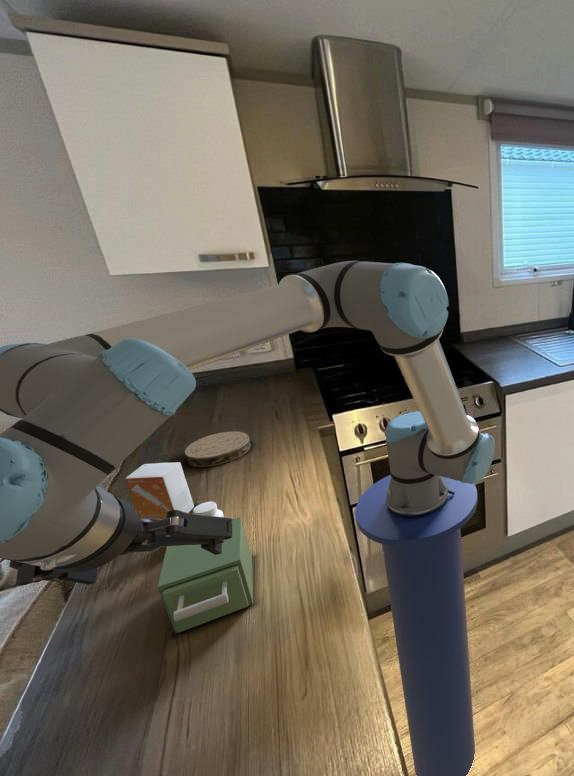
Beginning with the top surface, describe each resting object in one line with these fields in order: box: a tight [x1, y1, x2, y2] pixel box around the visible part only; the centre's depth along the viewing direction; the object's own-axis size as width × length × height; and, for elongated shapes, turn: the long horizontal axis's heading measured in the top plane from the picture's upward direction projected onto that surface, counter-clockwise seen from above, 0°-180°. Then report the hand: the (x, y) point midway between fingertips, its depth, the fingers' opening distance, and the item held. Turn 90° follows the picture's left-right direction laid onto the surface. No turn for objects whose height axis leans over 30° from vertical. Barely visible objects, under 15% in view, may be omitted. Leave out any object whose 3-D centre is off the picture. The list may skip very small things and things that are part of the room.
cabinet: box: [157, 516, 254, 634], centre depth 82 cm, size 14×12×11 cm
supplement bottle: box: [192, 501, 225, 518], centre depth 95 cm, size 5×5×10 cm
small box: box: [124, 461, 195, 520], centre depth 103 cm, size 8×6×13 cm
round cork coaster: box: [184, 430, 252, 468], centre depth 132 cm, size 16×16×3 cm
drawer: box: [162, 565, 249, 634], centre depth 79 cm, size 18×10×9 cm, turn 32°
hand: (159, 558), depth 60 cm, fingers open, 13 cm apart
